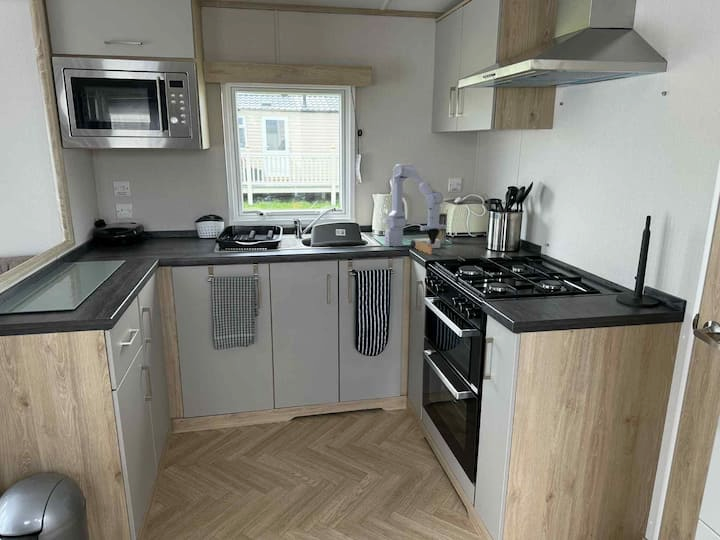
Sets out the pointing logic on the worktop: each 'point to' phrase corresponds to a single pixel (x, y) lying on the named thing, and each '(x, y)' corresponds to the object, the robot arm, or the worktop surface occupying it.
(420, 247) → the side door
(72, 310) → the worktop surface
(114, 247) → the worktop surface
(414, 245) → the pale upright slab
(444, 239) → the coffee box
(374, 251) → the worktop surface
